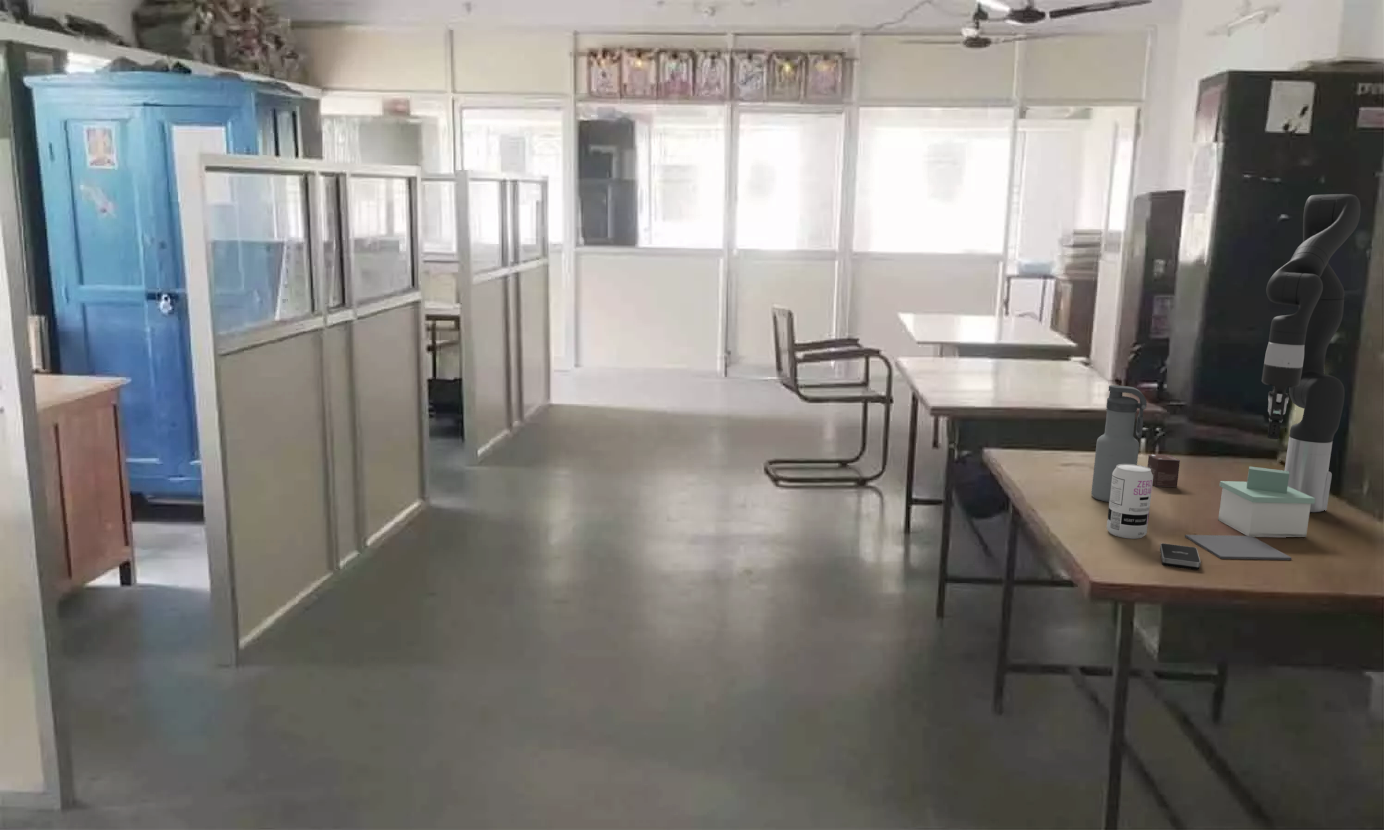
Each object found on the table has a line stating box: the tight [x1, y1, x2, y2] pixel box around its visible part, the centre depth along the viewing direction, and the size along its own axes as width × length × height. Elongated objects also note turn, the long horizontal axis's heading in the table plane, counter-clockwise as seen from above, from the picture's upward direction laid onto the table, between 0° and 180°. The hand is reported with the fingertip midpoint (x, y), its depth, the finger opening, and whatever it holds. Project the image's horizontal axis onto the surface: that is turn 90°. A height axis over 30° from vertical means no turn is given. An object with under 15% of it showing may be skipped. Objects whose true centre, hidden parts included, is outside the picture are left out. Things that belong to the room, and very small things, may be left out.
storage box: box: [1217, 487, 1311, 538], centre depth 246 cm, size 13×13×8 cm
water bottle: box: [1090, 384, 1147, 503], centre depth 267 cm, size 10×10×28 cm
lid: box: [1218, 466, 1315, 504], centre depth 245 cm, size 14×14×7 cm
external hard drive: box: [1159, 542, 1202, 571], centre depth 222 cm, size 7×11×2 cm, turn 160°
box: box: [1146, 454, 1181, 488], centre depth 286 cm, size 6×6×7 cm
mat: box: [1184, 534, 1293, 561], centre depth 232 cm, size 15×15×1 cm
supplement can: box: [1106, 464, 1153, 540], centre depth 238 cm, size 8×8×15 cm
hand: (1272, 435), depth 243 cm, fingers open, 8 cm apart
